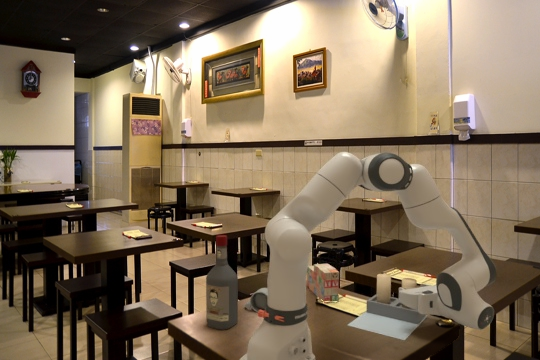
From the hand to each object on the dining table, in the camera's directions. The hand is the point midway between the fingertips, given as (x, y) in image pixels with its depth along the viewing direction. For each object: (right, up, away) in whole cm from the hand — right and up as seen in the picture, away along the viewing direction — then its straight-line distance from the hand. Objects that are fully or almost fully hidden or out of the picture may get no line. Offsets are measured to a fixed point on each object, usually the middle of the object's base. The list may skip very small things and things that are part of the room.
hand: (411, 287), depth 143 cm
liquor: (-65, -12, -2) cm, 66 cm away
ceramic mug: (-52, -11, +12) cm, 55 cm away
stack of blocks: (-27, -10, +29) cm, 41 cm away
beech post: (0, -8, +1) cm, 8 cm away
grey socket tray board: (-8, -12, -1) cm, 14 cm away
